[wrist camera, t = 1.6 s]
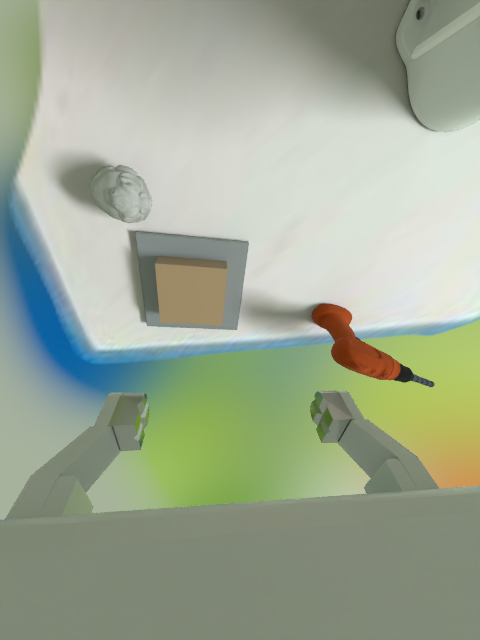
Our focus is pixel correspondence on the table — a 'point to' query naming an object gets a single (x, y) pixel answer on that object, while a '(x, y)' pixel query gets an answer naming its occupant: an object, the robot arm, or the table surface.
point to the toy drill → (359, 348)
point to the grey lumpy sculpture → (121, 193)
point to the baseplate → (195, 251)
